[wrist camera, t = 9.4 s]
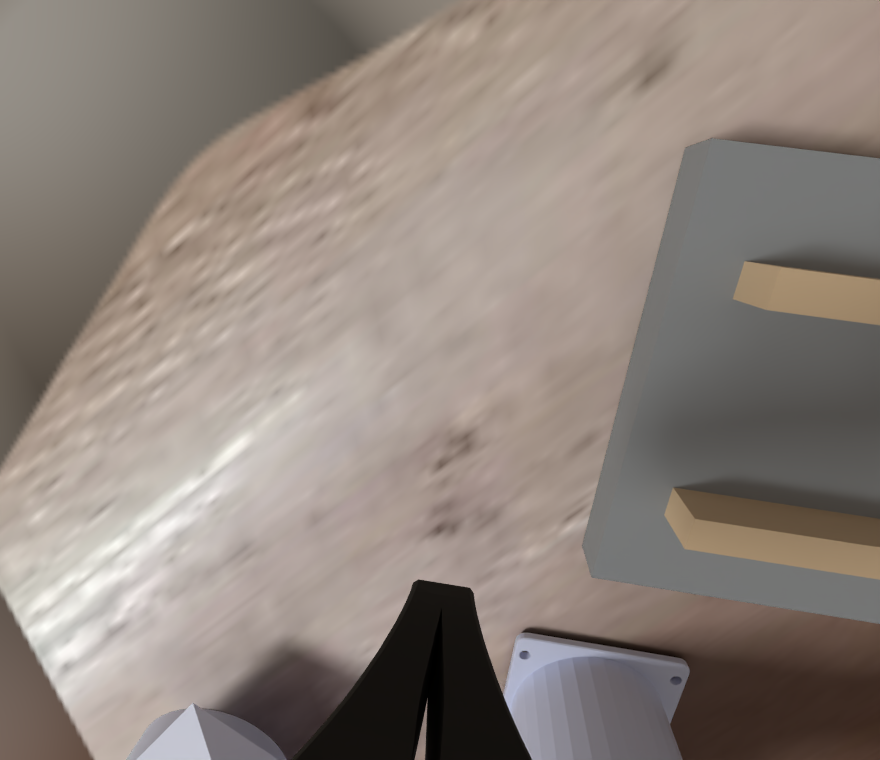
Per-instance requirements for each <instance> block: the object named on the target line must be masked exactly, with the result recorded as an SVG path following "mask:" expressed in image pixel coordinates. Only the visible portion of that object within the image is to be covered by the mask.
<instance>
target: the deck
mask: <svg viewBox="0 0 880 760" xmlns="http://www.w3.org/2000/svg"><path fill="white" fill-rule="evenodd" d="M582 547H583V550H584V554H585V557H586V560H587V564H588V567H589V570H590V574H591V577H592V578H598V579H604V580H611V581H617V582H623V583H629V584H635V585H642V586H648V587H654V588H660V589H667V590H673V591H679V592H685V593H691V594H698V595H704V596H710V597H716V598H722V599H729V600H735V601H741V602H747V603H754V604H760V605H766V606H772V607H778V608H785V609H791V610H797V611H803V612H809V613H816V614H822V615H828V616H834V617H841V618H847V619H853V620H859V621H865V622H872V623H878V624H880V158H872V157H863V156H855V155H847V154H838V153H830V152H822V151H813V150H805V149H796V148H788V147H780V146H771V145H763V144H755V143H746V142H738V141H730V140H721V139H713V138H711V139H709V140H706V141H703V142H700V143H697V144H694V145H692V146H689V147H686V148H685V151H684V155H683V159H682V163H681V167H680V171H679V174H678V178H677V182H676V186H675V190H674V194H673V198H672V201H671V205H670V209H669V213H668V217H667V221H666V225H665V228H664V232H663V236H662V240H661V244H660V248H659V252H658V255H657V259H656V263H655V267H654V271H653V275H652V279H651V282H650V286H649V290H648V294H647V298H646V302H645V305H644V309H643V313H642V317H641V321H640V325H639V329H638V332H637V336H636V340H635V344H634V348H633V352H632V356H631V359H630V363H629V367H628V371H627V375H626V379H625V383H624V386H623V390H622V394H621V398H620V402H619V406H618V410H617V413H616V417H615V421H614V425H613V429H612V433H611V437H610V440H609V444H608V448H607V452H606V456H605V460H604V464H603V467H602V471H601V475H600V479H599V483H598V487H597V491H596V494H595V498H594V502H593V506H592V510H591V514H590V518H589V521H588V525H587V529H586V533H585V537H584V541H583V545H582Z"/></svg>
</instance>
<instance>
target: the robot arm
mask: <svg viewBox="0 0 880 760" xmlns="http://www.w3.org/2000/svg"><path fill="white" fill-rule="evenodd" d="M522 651H528V652H522ZM689 674H690V669H689V667H688V665H687V663H686V661H685V660H683V659H681V658H677V657H671V656H665V655H659V654H653V653H647V652H641V651H635V650H629V649H623V648H617V647H611V646H605V645H599V644H593V643H587V642H581V641H575V640H569V639H563V638H557V637H551V636H545V635H539V634H533V633H521V634H519V635H518V636H517V637H516V640H515V644H514V649H513V653H512V658H511V662H510V667H509V671H508V676H507V680H506V685H505V689H504V694H503V693H502V691H501V688H500V686H499V683H498V680H497V678H496V675H495V672H494V669H493V666H492V663H491V660H490V658H489V655H488V652H487V649H486V645H485V642H484V639H483V635H482V632H481V628H480V624H479V620H478V616H477V612H476V607H475V601H474V593H473V592H472V590H471V589H470V588H467V587H461V586H455V585H449V584H443V583H436V582H430V581H424V580H417V581H415V582H414V583H413V585H412V588H411V591H410V594H409V596H408V599H407V601H406V603H405V605H404V607H403V609H402V611H401V613H400V615H399V617H398V619H397V621H396V622H395V624H394V626H393V628H392V629H391V631H390V633H389V634H388V636H387V638H386V639H385V641H384V643H383V644H382V646H381V648H380V649H379V651H378V652H377V654H376V655H375V657H374V658H373V660H372V661H371V662H370V664H369V665H368V667H367V668H366V670H365V671H364V673H363V674H362V675H361V677H360V678H359V680H358V681H357V683H356V684H355V685H354V687H353V688H352V689H351V691H350V692H349V693H348V695H347V696H346V697H345V698H344V700H343V701H342V702H341V703H340V705H339V706H338V707H337V708H336V710H335V711H334V712H333V713H332V715H331V716H330V717H329V718H328V719H327V721H326V722H325V723H324V724H323V725H322V726H321V727H320V729H319V730H318V731H317V732H316V733H315V734H314V735H313V736H312V738H311V739H310V740H309V741H308V742H307V743H306V744H305V745H304V747H303V748H302V749H301V750H300V751H299V752H298V753H297V754H296V755H295V756H294V757H293V758H292V759H291V760H414V759H415V755H416V750H417V745H418V741H419V736H420V731H421V726H422V722H423V717H424V712H425V708H426V703H427V698H428V703H427V728H426V754H425V760H683V759H682V756H681V754H680V751H679V748H678V745H677V743H676V740H675V737H674V734H673V732H672V729H671V726H670V723H671V721H672V718H673V715H674V713H675V710H676V708H677V705H678V702H679V700H680V697H681V695H682V692H683V689H684V687H685V684H686V681H687V679H688V676H689ZM674 676H676V677H674Z"/></svg>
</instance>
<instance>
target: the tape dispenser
mask: <svg viewBox="0 0 880 760" xmlns="http://www.w3.org/2000/svg"><path fill="white" fill-rule="evenodd" d="M126 760H287V759H286V758H285V756H284V754H283V752H282V751H281V750H280V748H279V747H278V746H277V744H276V743H275V742H274V741H273V740H272V739H271V738H270V737H269V736H267V735H266V734H265V733H264V732H263V731H261V730H260V729H258V728H257V727H255V726H254V725H252V724H250V723H248V722H247V721H245V720H243V719H240V718H238V717H236V716H233V715H230V714H227V713H224V712H220V711H215V710H209V709H201V708H200V707H198V706H197V705H195V704H194V703H192V704H191V705H190V706H189V707H188V708H187V709H181V710H176V711H172V712H169V713H167V714H164V715H162V716H160V717H159V718H157V719H156V720H154V721H153V722H152V723H151V724H150V725H149V726H148V727H147V729H146V730H145V731H144V733H143V735H142V736H141V738H140V739H139V741H138V742H137V744H136V745H135V747H134V748H133V750H132V751H131V753H130V754H129V756H128V757H127V759H126Z"/></svg>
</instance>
